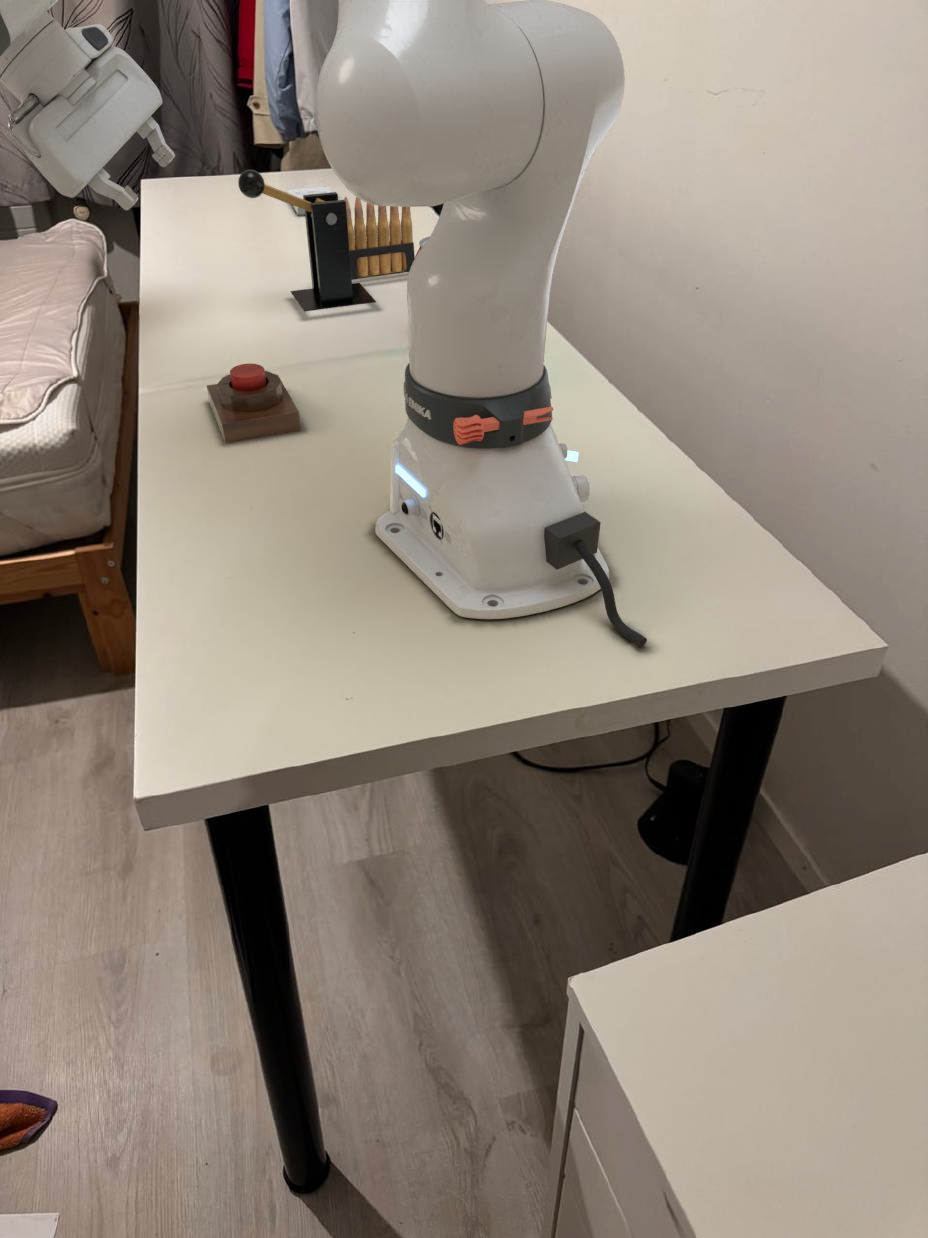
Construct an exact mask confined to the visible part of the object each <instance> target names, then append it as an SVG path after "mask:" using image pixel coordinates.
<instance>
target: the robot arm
mask: <svg viewBox="0 0 928 1238" xmlns="http://www.w3.org/2000/svg"><path fill="white" fill-rule="evenodd" d="M57 2H59V0H0V83H1V84H2V85H3V86H5V88H6V89H7V90H8V91H9V92H10V93H11V94H12V95H13V96H14V97H15V98H16V99H17V100H18V102H20V104H19V105H18V106H17V107H16V108H14V109H12V110H11V111H10V112H9V113H8V115H7V120H8V123H7V125H8V126H7V127H8V130H9V135H10V137H11V138H12V139H13V141H14V142H15V143H16V144H17V145H18V146H19V147H20V148H21V149H22V150H23V151H24V153H25V154H26V156H27V157H28V159H29V160H30V161H31V162H32V164H33V165H34V167H35V168H36V169H37V170H38V171H39V172H40V174H41V175H42V176H43V177H44V178H45V179H46V180H47V182H49V184H50V185H51V186H52V187H53V188H54V189H55V190H56V191H57V192H58V193H60V194H61V195H63V196H65V197H68V198H71V199H72V198H73V199H74V198H75V197H76V196H77V195H78V194H79V193H80V192H81V191H82V190H83V189H84V188H85V187H86V186H87V185H88V186H89V187H90V188H91V190H93V191H94V192H95V193H96V194H100V195H101V196H104V197H106V198H109V199H111V200H113V201H115V202H116V203H117V204H118V205H119V206H120V207H121V208H122V209H123V210H124V211H129V210H130V209H131V208H133V206H134V205H135V204H136V203H137V201H138V200H139V195H138V194H137V193H136V192H135V191H134V190H133V189H132V188H131V187H130V186H129V185H128V184H126V186H124V187H123V186H121V185H119V184H117V183H115V182H114V181H112V180H110V178H111V174H109V172H108V171H106V169H105V168H104V167H105V166H106V164H107V163H108V162H109V161H110V160H111V159H112V158H113V157H114V156H115V154H117V153H118V152H119V150H120V149H122V147H123V146H124V145H125V144H126V143H127V142H128V141H129V140H130V139H131V137H133V136H134V135H135V134H136V133H137V135H139V136H140V137H141V139H143V140H144V139H147V141H148V143H149V145H150V147H151V149H152V151H153V153H152V155H151V157H152V158H153V160H154V161H155V162H157V163H158V165H159V166H160V167H162V168H166V167H167V166H168V165H170V163H171V162H172V161H173V159H174V158H175V157H176V154H175V152H174V151H173V149H171V147H170V146H169V145H168V144H167V143H166V140H165V138H164V135H163V132H162V130H161V127H160V124H158V123H157V121H156V120H155V119H154V117H153V116H152V115H153V114H154V113H155V112H156V111H157V110H158V109H159V108H160V107H161V106H162V104H163V103H164V102H163V97H162V95H161V91H160V89H159V88H158V86H157V85H156V83H155V82H153V80H152V78H150V76H149V75H148V74H147V73H146V71H144V69H142V68H141V66H140V65H139V64H138V63H137V62H136V61H135V60H134V59H133V58H132V56H130V55H129V54H128V53H127V51H125V50H123V49H122V48H120V47H117V46H111V45H113V43H114V37H113V36H112V34H111V32H110V31H109V30H108V29H107V28H106V27H105V26H104V25H103V24H101V23H95V24H91V25H85V26H78V27H67V28H64V27H63V26H62V25H61V24H60V23H59V21H57V20H56V19H55V18H54V17H53V16H52V15H51V14H50V13H49V10H50V9H51V8H52V7H53V6H54V5H55V4H56V3H57ZM337 13H338V17H337V27H336V32H335V36H334V40H333V42H332V45H331V46H330V50H329V51H328V53H327V55H326V57H325V59H324V61H323V63H322V66H321V69H320V72H319V74H318V75H319V76H318V80H317V85H316V92H315V108H314V109H315V110H314V111H315V121H316V129H317V134H318V139H319V141H320V144H321V147H322V151H323V154H324V156H325V158H326V160H327V162H328V164H329V166H330V168H331V169H332V171H333V173H334V174H335V176H336V177H337V179H338V180H339V181H340V182H341V183H342V186H344V187H345V188H346V189H347V190H348V191H349V192H350V193H351V194H352V195H353V196H355V198H356V197H357V198H359V199H360V200H361V202H364V203H366V204H367V203H369V204H372V205H374V206H377V207H378V206H386V207H390V206H396V207H398V208H402V207H410V208H411V207H412V208H414V207H415V208H417V207H418V208H419V207H427V208H428V207H429V208H430V207H436V206H440V205H442V209H441V211H440V214H439V217H438V219H437V222H436V224H435V226H434V228H433V230H432V233H431V234H430V235H429V236H428V237H429V239H428V240H427V242H426V243H425V244H424V246H423V247H422V248H421V250H420V251H419V253H418V254H417V256H416V255H415V256H416V257H415V259H414V261H413V263H412V266H411V268H410V271H409V272H408V275H407V281H406V302H407V303H406V304H407V305H406V306H407V331H408V332H407V333H408V335H407V336H408V356H409V357H408V359H409V362H408V364H407V365H406V367H405V370H404V382H403V397H404V406H405V408H404V409H405V410H404V411H405V414H406V415H407V418H406V421H405V423H404V425H403V427H402V429H401V430H400V432H399V433H398V435H397V437H396V438H395V439H394V440H393V443H392V444H391V446H390V470H389V471H390V475H389V476H390V479H389V480H390V482H389V483H390V484H389V509H388V510H387V511H385V512H384V513H382V515H380V517H378V518H377V520H376V521H375V531H374V532H375V533H374V534H375V535H376V536H377V537H378V538H379V540H380V541H382V543H384V544H385V545H386V546H387V547H388V549H390V550H391V551H392V552H393V553H394V554H395V556H397V557H398V559H400V560H401V561H402V562H403V563H404V564H405V566H407V567H408V569H410V570H411V571H412V572H413V573H414V574H415V575H416V576H417V578H419V579H420V580H421V581H422V582H423V583H424V584H425V585H426V586H427V587H428V588H429V589H430V590H431V591H432V592H433V593H434V595H436V596H437V597H438V598H439V599H440V601H442V602H443V603H444V604H445V605H446V606H447V607H448V608H449V609H450V610H451V611H452V612H453V613H454V614H456V615H457V616H458V617H461V618H468V619H475V620H501V619H511V618H520V617H525V616H530V615H536V614H540V613H544V612H549V611H551V610H555V609H559V608H562V607H567V606H568V605H572V604H575V603H577V602H579V601H582V600H584V599H586V598H588V597H591V596H592V595H594V594H595V593H597V592H598V591H600V590H601V593H602V597H603V601H604V608H605V612H606V616H607V618H608V620H609V622H610V624H611V626H612V627H613V629H614V630H616V631H617V633H618V634H619V635H621V636H622V637H623V638H625V639H627V640H629V641H631V642H632V643H634V644H635V645H637V646H638V647H639V648H643V647H644V646H645V645H646V644H647V641H648V638H647V637H645V636H644V635H642V633H639V632H637V631H636V630H634V629H632V628H630V627H629V626H628V625H626V623H624V621H623V619H622V618H621V616H620V614H619V612H618V608H617V604H616V600H615V593H614V589H613V586H612V584H611V581H610V568H609V567H608V564H607V562H606V561H605V558H604V556H603V554H602V553H601V550H600V549H599V540H600V531H601V524H602V522H601V521H600V520H598V519H597V518H595V517H594V516H592V515H591V514H589V513H588V512H586V511H584V508H583V504H582V503H585V502H587V501H588V500H589V498H590V483H589V480H588V478H587V476H586V475H583V474H579V475H572V474H571V472H570V468H569V466H568V464H567V461H568V462H575V463H578V461H579V452H578V451H574V450H568V446H567V444H566V443H565V442H564V443H563V442H561V443H559V440H558V437H557V435H556V433H555V430H554V427H553V426H552V422H553V411H554V407H553V406H552V397H553V396H552V391H551V390H552V388H551V386H550V382H549V374H548V368H547V367H546V365H545V353H546V342H547V341H546V339H547V328H548V316H549V306H550V295H551V287H552V280H553V274H554V270H555V265H556V262H557V261H556V260H557V257H558V253H559V249H560V245H561V242H562V239H563V236H564V233H565V230H566V227H567V224H568V220H569V217H570V214H571V212H572V208H573V205H574V203H575V199H576V197H577V193H578V191H579V189H580V186H581V183H582V181H583V178H584V175H585V173H586V171H587V169H588V166H589V164H590V162H591V160H592V158H593V157H594V155H595V153H596V151H597V150H598V148H599V147H600V145H601V144H602V143H603V141H604V139H605V138H606V137H607V136H608V135H609V133H610V132H611V130H612V129H613V127H614V125H615V123H616V121H617V119H618V116H619V114H620V112H621V109H622V106H623V105H622V104H623V100H624V95H625V85H626V84H625V83H626V82H625V81H626V80H625V68H624V61H623V56H622V53H621V49H620V47H619V45H618V42H617V40H616V38H615V36H614V34H613V33H612V31H611V30H610V29H609V27H608V25H606V24H605V23H604V22H603V21H602V20H601V19H600V18H599V17H597V16H596V15H594V14H592V13H591V12H589V11H586V10H584V9H580V8H577V7H574V6H571V5H568V4H565V3H561V2H558V1H553V0H518V1H517V0H516V1H507V2H499V3H489V4H488V2H487V1H486V0H338V12H337Z"/></svg>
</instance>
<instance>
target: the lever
mask: <svg viewBox="0 0 928 1238" xmlns="http://www.w3.org/2000/svg"><path fill="white" fill-rule="evenodd" d="M237 182H238V188H239V191H240V192H241V193H242V195H243V196H244V197H246V198H249V199H257V198H259V197H260V196H261V195H262V194H263V195H265V196H268V197H270V198H273V199H275V200H278V201H281V202H283V203H286V204H288V205H291V206H292V207H293V206H296V207H299V208H301V209H304V210H306V211H309V212H311V202H309V201H306V200H304V199H301V198H299V197H296V196H294V195H291V194H289V193H287V191H283V190H281V189H278V188H276V187H273V186H271V185H268V184H266V183H265V179H264V177H263V176H262V174H261V173H260V172H258V171H257V170H254V169H246V170H244V171H243V172H242V173H240V175H239V177H238V181H237ZM316 202H326V201H324V200H321V199H318V198H316V201H315V203H316ZM311 213H312V212H311ZM311 217H312V214H311Z"/></svg>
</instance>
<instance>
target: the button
mask: <svg viewBox="0 0 928 1238" xmlns="http://www.w3.org/2000/svg"><path fill="white" fill-rule="evenodd" d="M265 371H266V370H265V367H264V366H263V365H262V364H258V363H241V364H238V365H235V366H233V367H232V368H231V369H230V370H229V375H230V377H231V383H232V388H233V389H235V390H237V391H254V390H259V389H261V388H263V387H266V385H267V384H266V377H265Z"/></svg>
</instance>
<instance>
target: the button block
mask: <svg viewBox="0 0 928 1238" xmlns="http://www.w3.org/2000/svg"><path fill="white" fill-rule="evenodd" d="M265 377H266V384H267V385H266V387H263V388H261V389H259V390H254V391H237V390H235V389H233V388H232V383H231V377H230V374H228V375H227V374H226V375H225V376H223V377H222V378H221V379H220V380H219V381H218V382H217V383H214V384H208V385H207V384H206V391H207V396H208V401H209V405H210V408H211V410H212V413H213V415H214V418H215V421H216V424H217V425H218V429H219V430H220V433H221V436H222V439H223V441H224V443H225V444H230V443H235V442H242V441H247V440H252V439H258V438H264V437H271V436H276V435H282V434H288V433H294V432H299V431H302V428H301V420H300V411H299V409H298V408H297V406H296V405H295V403H294V401H293V399H292V397H291V396H290V393H289V392H288V390H287V388H286V387H285V385H284V383H283V381H282V379H281V377H280V376H279V374H276V373H273V372H271V371H268V370H265Z"/></svg>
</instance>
